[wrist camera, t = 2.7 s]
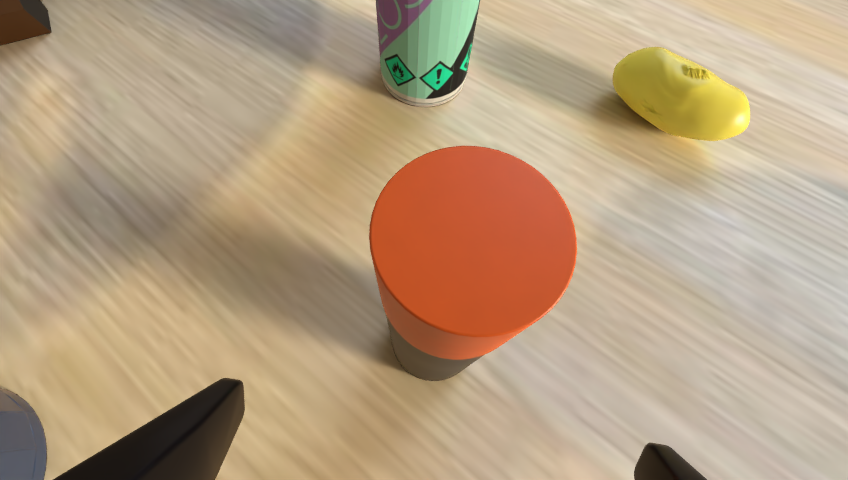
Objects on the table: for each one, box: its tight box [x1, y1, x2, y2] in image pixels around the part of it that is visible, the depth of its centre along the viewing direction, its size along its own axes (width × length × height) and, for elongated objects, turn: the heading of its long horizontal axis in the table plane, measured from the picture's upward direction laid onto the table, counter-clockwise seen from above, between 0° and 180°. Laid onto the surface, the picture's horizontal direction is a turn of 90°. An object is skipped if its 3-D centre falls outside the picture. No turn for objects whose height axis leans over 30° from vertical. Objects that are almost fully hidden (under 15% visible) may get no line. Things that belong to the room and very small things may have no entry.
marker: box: [369, 146, 577, 381], centre depth 14 cm, size 4×4×12 cm
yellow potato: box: [613, 47, 750, 141], centre depth 24 cm, size 4×8×4 cm, turn 48°
